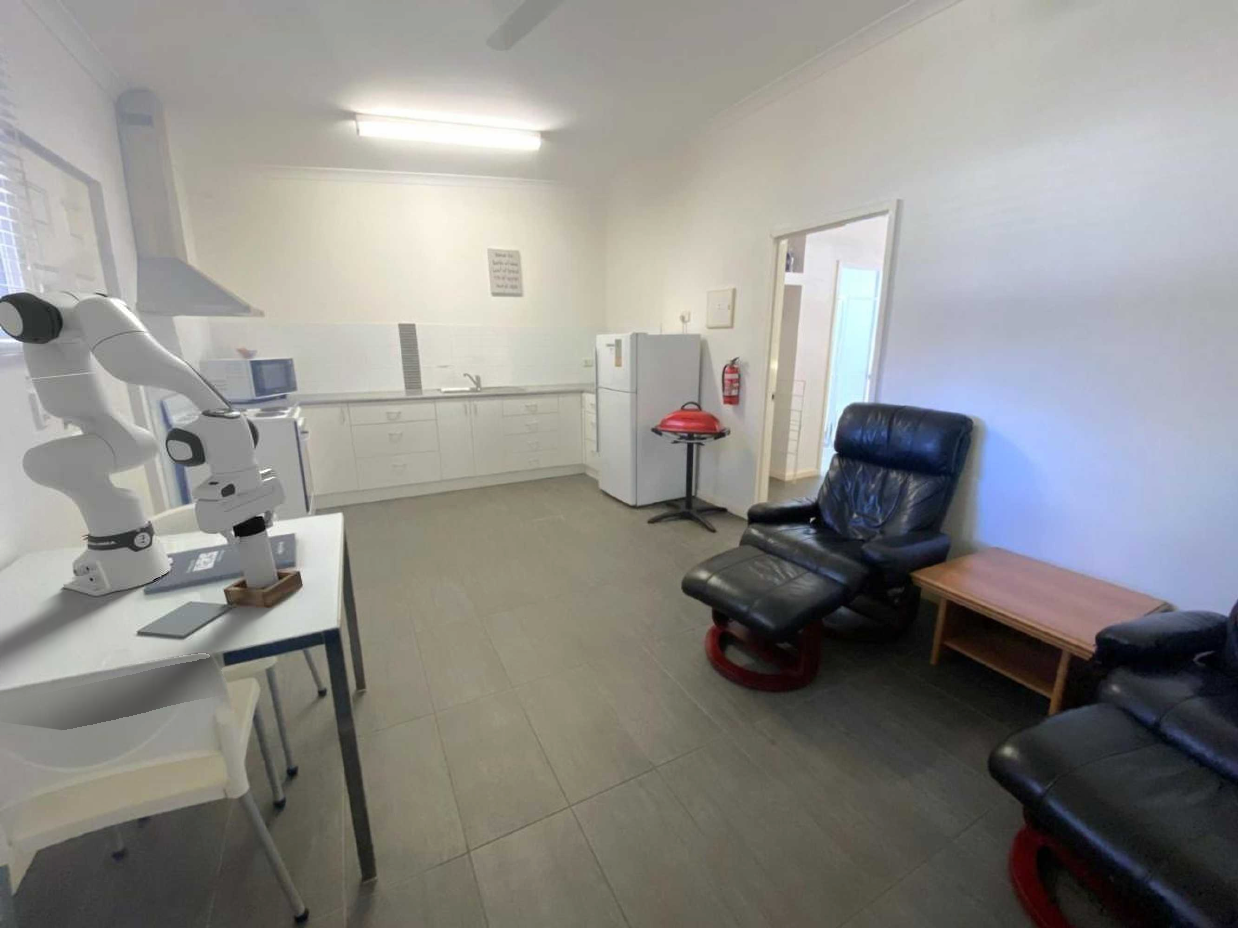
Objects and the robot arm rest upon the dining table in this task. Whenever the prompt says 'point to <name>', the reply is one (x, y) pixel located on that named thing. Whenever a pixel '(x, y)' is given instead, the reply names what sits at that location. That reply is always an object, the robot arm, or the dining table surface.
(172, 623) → the slate mat
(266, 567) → the travel mug
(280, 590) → the walnut tray
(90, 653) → the dining table surface
